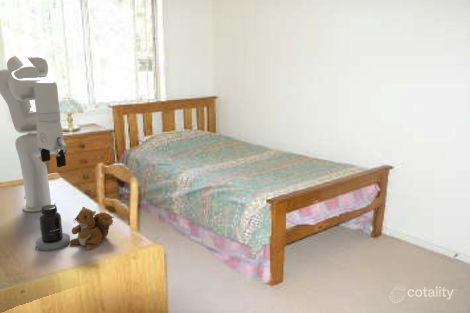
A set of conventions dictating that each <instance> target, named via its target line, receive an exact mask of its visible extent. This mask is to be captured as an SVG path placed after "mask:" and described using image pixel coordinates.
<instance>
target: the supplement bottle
mask: <svg viewBox="0 0 470 313" xmlns="http://www.w3.org/2000/svg"><path fill="white" fill-rule="evenodd" d="M40 212H41V215H40V216H39V219H38V220H39V228H40V236H41V237H42V241H43V242H45V243H54V242H58V241H60V240H61V239H62V238H63V233H64V231H63V225H62V217H61V216H62V215H61V214H60V213H59V212H58V207H57V205H56V204H55V205H46V206H43V207H42V208H41V211H40Z"/></svg>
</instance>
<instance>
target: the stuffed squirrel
mask: <svg viewBox="0 0 470 313" xmlns="http://www.w3.org/2000/svg"><path fill="white" fill-rule="evenodd" d="M113 219H115V218H114V216H112V215H111V214H110V213H108V212H107V213H106V212H99V213H97V212H96V210H94V211H93V210H92V209H90V208H86V207H85V206H82V207H81V209H80V211H79V212H78V214H77V215H76V217H75V218H74V219H73V220H72V221H73V223H74V224H76V223H77V224H78V225H75V226H74V227H72V228H71V233H72V234H73V235H77V236H76V237H77V238H73V239H70V243H69V245H70V246H77V245H80V246H83V247H85V249H86V251H92V250H94V249H96V248H98V247H99V245H100V244H101V242H102V241H103V240H104V239H105V238H107V236H108V234H109V229H110V226H112V225H113V223H114V220H113Z"/></svg>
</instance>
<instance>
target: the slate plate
mask: <svg viewBox="0 0 470 313" xmlns="http://www.w3.org/2000/svg"><path fill="white" fill-rule="evenodd" d="M70 241H71V236H70V234H69V233H65V232H63V238H62V239H61V240H60V241H58V242H54V243H45V242H43V241H42V237H39V238H38V239H37V240H35V248H36V249H37V250H39V251H42V252H43V251H44V252H52V251H56V250H58V251H59V250H61V249H62V248H65V247H67V246H69V245H70Z"/></svg>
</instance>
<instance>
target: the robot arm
mask: <svg viewBox="0 0 470 313" xmlns="http://www.w3.org/2000/svg"><path fill="white" fill-rule="evenodd" d="M6 67H7V68H4V69H1V70H0V95H1V97H2V98H3V100H4V101H5V103H6V104H7V107H8V111H9V114H10V118H11V121H12V125H13V127H14V130H15V131H16V132H17V133H18V134H23V135H20V136H18V137H17V138H16V139H15V141H14V142H15V143H14V144H15V151H16V153H17V156H18V159H19V163H20V168H21V174H22V181H23V187H24V188H23V189H24V195H25V196H24V197H23V199H24V200H25V203H24V204H23V205H22V209H23V211H24V212H29V213H36V212H42V211H41V208H42V207H43V206H46V205H56V201H55V200H54V199H51V190H50V183H49V175H48V169H47V165H46V163H45V162H48V161H51V160H52V159H51V158H52V157H51V155H53V154H56V156H55V161H56V162H55V163H56V167H57V168H61V167H65V166H67V163H66V162H67V160H66V155H67V151H68V150H67V148H68V145H67V143H65V140H64V134H63V128H62V122H61V120H62V119H61V113H60V103H59V102H60V100H59V93H58V84H57V82H56V81H54V80H53V79H52V78H50V77H47V76H48V72H49V65H48V61H47V60H46V58H44V57H43V55H38V54H29V55H28V54H26V55H24V54H23V55H22V54H21V55H13V56H11V57H10V58H9V59H8V60H7V62H6ZM30 101H34V105H35V106H34V107H35V108H33V107H32V104H31V102H30ZM39 157H40V158H41V159H40V158H39Z"/></svg>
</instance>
